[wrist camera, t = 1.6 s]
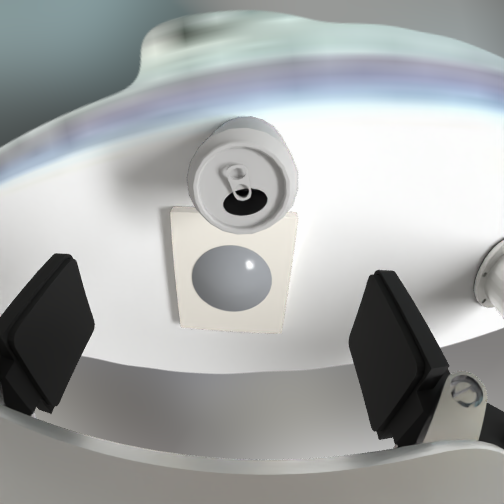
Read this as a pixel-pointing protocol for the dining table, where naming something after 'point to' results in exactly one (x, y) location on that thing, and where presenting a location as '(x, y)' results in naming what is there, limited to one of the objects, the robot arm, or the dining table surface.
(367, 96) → the dining table surface
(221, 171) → the can
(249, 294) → the tile
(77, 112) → the dining table surface
